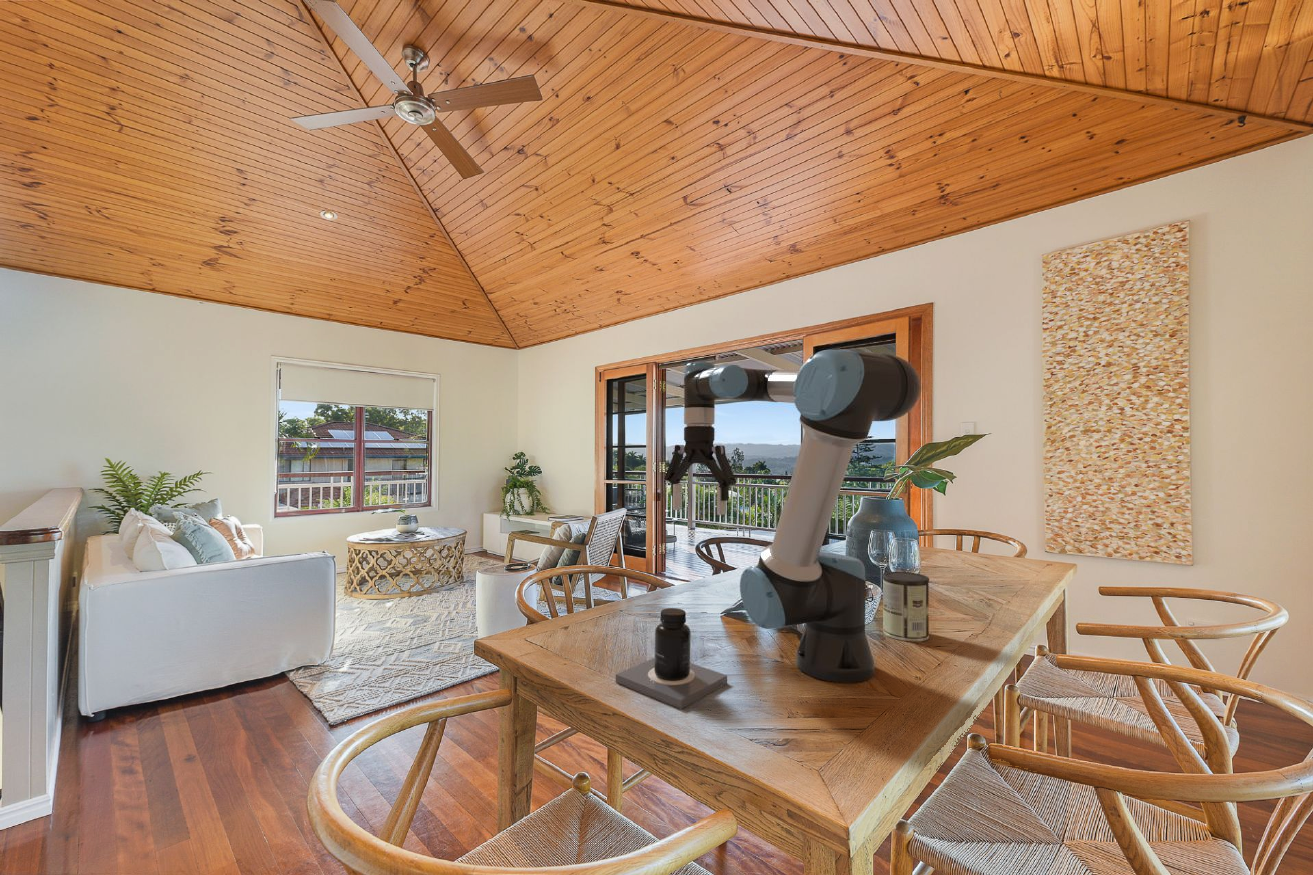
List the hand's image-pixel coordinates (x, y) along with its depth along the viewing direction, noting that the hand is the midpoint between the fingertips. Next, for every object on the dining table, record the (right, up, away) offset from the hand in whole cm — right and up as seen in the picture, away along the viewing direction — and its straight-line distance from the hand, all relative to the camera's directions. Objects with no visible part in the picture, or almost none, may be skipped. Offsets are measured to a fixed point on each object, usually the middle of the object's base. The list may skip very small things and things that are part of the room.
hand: (698, 512), depth 138 cm
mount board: (-8, -28, -31) cm, 43 cm away
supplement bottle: (-7, -27, -31) cm, 42 cm away
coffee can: (+50, -29, -3) cm, 58 cm away
